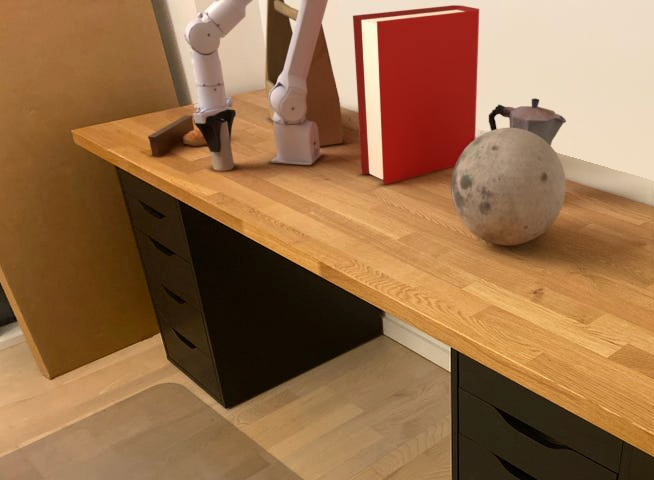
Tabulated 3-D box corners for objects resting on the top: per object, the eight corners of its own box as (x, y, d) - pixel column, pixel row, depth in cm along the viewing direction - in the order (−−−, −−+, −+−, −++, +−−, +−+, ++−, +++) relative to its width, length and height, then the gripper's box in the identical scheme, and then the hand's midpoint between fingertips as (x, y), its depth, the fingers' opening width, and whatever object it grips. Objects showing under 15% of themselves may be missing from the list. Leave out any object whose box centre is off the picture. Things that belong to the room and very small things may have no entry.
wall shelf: (195, 133, 181) (192, 115, 178) (159, 156, 166) (155, 137, 163) (188, 133, 181) (185, 115, 179) (152, 156, 166) (147, 136, 164)
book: (383, 184, 154) (376, 21, 136) (361, 174, 159) (352, 15, 141) (477, 159, 169) (483, 9, 151) (455, 151, 174) (458, 4, 156)
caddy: (268, 118, 194) (252, -6, 177) (307, 114, 198) (295, -8, 181) (302, 149, 172) (287, 11, 156) (344, 143, 177) (334, 9, 160)
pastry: (193, 149, 170) (190, 133, 168) (178, 143, 174) (174, 127, 172) (227, 141, 176) (225, 125, 174) (212, 135, 180) (209, 120, 178)
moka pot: (556, 209, 144) (566, 107, 133) (480, 202, 147) (484, 101, 136) (560, 192, 152) (570, 94, 141) (488, 186, 155) (492, 89, 143)
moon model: (572, 229, 136) (584, 122, 125) (541, 273, 121) (552, 155, 110) (474, 212, 142) (477, 108, 131) (432, 252, 127) (432, 138, 116)
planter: (211, 165, 161) (203, 119, 156) (232, 163, 163) (224, 117, 157) (214, 172, 158) (206, 124, 152) (235, 169, 160) (228, 122, 154)
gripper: (207, 74, 157) (217, 137, 165) (174, 90, 145) (187, 157, 153) (237, 76, 156) (247, 139, 164) (208, 92, 144) (219, 159, 152)
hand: (220, 147), depth 158 cm, fingers closed on planter, 4 cm apart
